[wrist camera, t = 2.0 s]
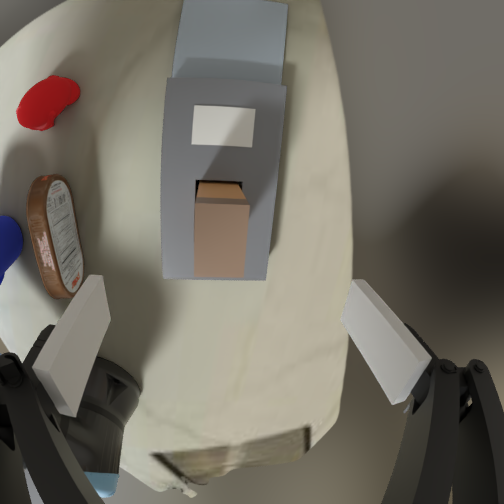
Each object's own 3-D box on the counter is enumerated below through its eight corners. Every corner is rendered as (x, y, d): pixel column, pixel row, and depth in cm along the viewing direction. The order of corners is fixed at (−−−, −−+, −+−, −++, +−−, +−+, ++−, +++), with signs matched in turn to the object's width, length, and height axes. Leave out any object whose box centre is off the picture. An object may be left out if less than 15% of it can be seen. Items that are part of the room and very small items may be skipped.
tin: (54, 171, 27) (16, 184, 19) (74, 167, 27) (38, 179, 20) (74, 278, 33) (49, 312, 25) (93, 278, 33) (70, 313, 26)
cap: (26, 149, 22) (44, 133, 20) (4, 112, 18) (19, 90, 16) (69, 113, 27) (92, 96, 24) (50, 80, 23) (72, 59, 20)
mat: (171, 83, 26) (171, 82, 25) (185, -2, 21) (184, -5, 20) (278, 90, 28) (280, 89, 27) (286, 6, 23) (288, 4, 22)
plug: (198, 228, 33) (194, 276, 22) (200, 178, 31) (194, 203, 20) (231, 229, 34) (243, 277, 23) (235, 179, 31) (249, 205, 20)
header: (166, 265, 34) (162, 279, 31) (171, 83, 26) (167, 77, 22) (260, 267, 36) (265, 281, 33) (278, 90, 28) (287, 85, 24)
